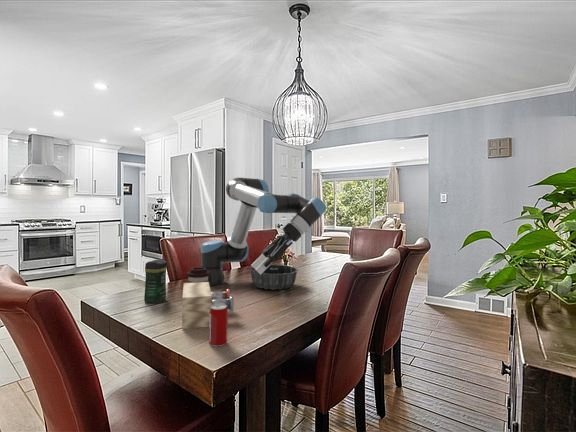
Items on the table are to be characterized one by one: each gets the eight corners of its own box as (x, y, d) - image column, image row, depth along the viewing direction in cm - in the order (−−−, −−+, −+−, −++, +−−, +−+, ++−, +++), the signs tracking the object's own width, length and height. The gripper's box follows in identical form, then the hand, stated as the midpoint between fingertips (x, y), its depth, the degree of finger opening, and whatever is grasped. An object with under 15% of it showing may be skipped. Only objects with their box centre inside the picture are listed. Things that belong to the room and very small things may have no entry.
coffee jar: (158, 304, 137) (159, 261, 137) (141, 303, 138) (141, 261, 138) (169, 298, 147) (169, 258, 147) (152, 297, 148) (153, 257, 147)
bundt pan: (307, 287, 174) (308, 269, 173) (272, 295, 155) (272, 275, 155) (274, 279, 192) (275, 262, 192) (239, 285, 173) (240, 267, 173)
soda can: (229, 344, 99) (230, 306, 98) (213, 348, 96) (213, 309, 95) (222, 338, 103) (223, 301, 103) (206, 342, 100) (206, 304, 100)
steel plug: (231, 308, 124) (231, 294, 123) (233, 313, 118) (233, 298, 118) (199, 311, 120) (199, 296, 120) (199, 315, 115) (200, 300, 114)
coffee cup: (182, 301, 142) (182, 268, 142) (201, 297, 150) (202, 265, 149) (193, 306, 136) (194, 271, 135) (213, 301, 143) (214, 268, 142)
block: (208, 307, 134) (208, 281, 134) (211, 326, 113) (211, 295, 113) (183, 309, 131) (183, 283, 131) (182, 329, 110) (182, 297, 110)
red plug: (228, 300, 134) (228, 287, 134) (230, 304, 129) (230, 291, 129) (198, 302, 130) (198, 289, 130) (199, 306, 125) (199, 292, 125)
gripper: (311, 237, 118) (268, 282, 114) (293, 233, 138) (256, 271, 134) (297, 223, 116) (254, 268, 112) (282, 221, 137) (244, 259, 132)
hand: (255, 269), depth 123 cm, fingers open, 8 cm apart
